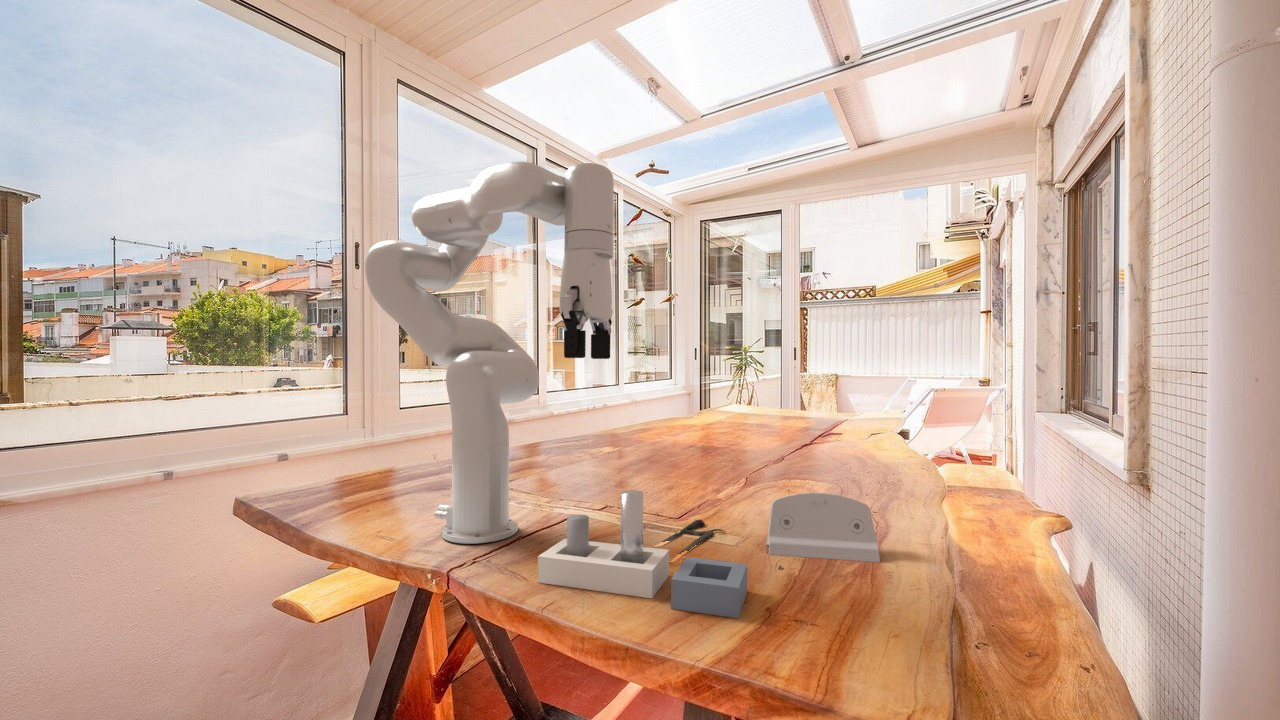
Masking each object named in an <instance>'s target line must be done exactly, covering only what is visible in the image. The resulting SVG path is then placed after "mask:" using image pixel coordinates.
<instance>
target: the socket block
mask: <svg viewBox="0 0 1280 720" xmlns="http://www.w3.org/2000/svg"><path fill="white" fill-rule="evenodd" d="M683 560H684V561H683V562H681V563H682V564H680V566H679V568H678V569H677V570H676V572H675V573H674V574H673V576H672V578H671V579H670V585H671V586H670V588H671V589H670V590H671V591H670V592H671V593H670V594H671V595H670V596H671V597H670V598H671V599H670V604H671V606H670V607H671V610H677V611H683V612H684V611H685V612H692V613H699V614H706V615H713V616H719V617H725V618H733V619H739V618H740V616H741V612H742V610H743V606H744V603H745V600H746V597H747V594H748V563H741V562H736V561H735V562H734V561H723V560H715V559H705V558H698V557H697V558H696V557H690V556H687V557H686V558H684V559H683Z"/></svg>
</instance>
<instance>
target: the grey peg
mask: <svg viewBox="0 0 1280 720" xmlns="http://www.w3.org/2000/svg"><path fill="white" fill-rule="evenodd" d="M620 545H621V561H622V562H630V563H638V564H643V547H644V492H643V491H641V490H634V489H631V490H630V489H629V490H624V491H621V492H620Z"/></svg>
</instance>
